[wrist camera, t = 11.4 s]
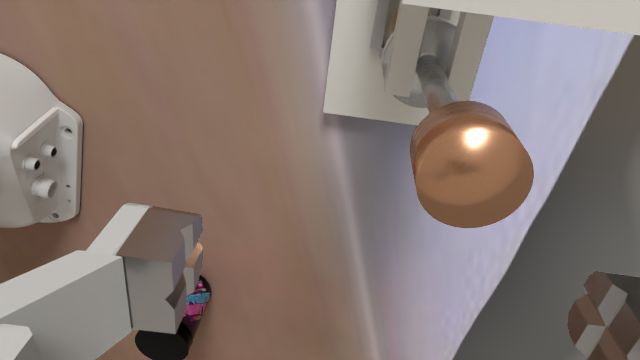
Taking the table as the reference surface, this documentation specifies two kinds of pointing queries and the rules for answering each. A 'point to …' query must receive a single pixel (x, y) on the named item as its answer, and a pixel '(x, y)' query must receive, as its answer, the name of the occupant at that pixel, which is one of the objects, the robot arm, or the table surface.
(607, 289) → the robot arm
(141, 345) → the supplement container
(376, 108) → the press frame
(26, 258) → the table surface
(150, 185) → the table surface
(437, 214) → the plunger
